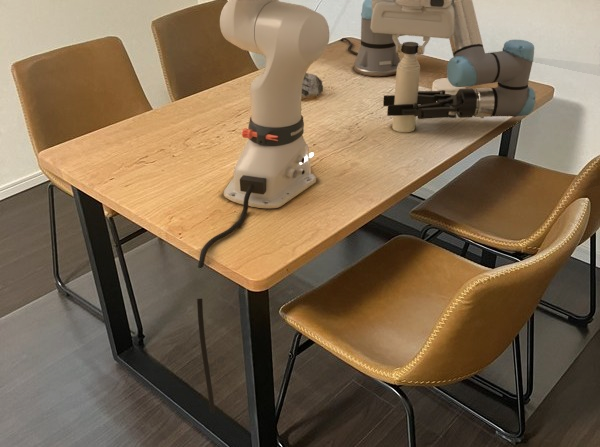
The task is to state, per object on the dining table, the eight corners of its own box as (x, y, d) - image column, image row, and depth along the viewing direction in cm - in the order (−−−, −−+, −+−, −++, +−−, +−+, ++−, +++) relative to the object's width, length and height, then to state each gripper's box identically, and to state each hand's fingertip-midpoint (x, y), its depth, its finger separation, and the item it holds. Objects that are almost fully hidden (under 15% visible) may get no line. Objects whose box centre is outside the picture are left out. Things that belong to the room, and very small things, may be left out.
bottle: (396, 122, 169) (402, 42, 157) (417, 125, 167) (425, 45, 155) (389, 130, 165) (395, 48, 153) (410, 133, 162) (418, 51, 151)
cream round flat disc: (427, 89, 189) (428, 78, 188) (459, 87, 190) (460, 76, 188) (437, 101, 181) (438, 89, 179) (470, 99, 182) (471, 88, 180)
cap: (402, 49, 157) (403, 41, 156) (418, 50, 156) (419, 42, 155) (401, 53, 153) (402, 45, 152) (417, 54, 153) (418, 46, 152)
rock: (327, 94, 187) (327, 70, 183) (303, 102, 181) (302, 79, 177) (294, 83, 196) (293, 61, 192) (270, 91, 190) (268, 68, 186)
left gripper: (368, -5, 148) (366, 52, 155) (455, 0, 142) (448, 60, 149) (374, -11, 153) (372, 45, 160) (459, -6, 147) (452, 52, 154)
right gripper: (481, 130, 157) (390, 133, 156) (462, 103, 173) (379, 105, 172) (486, 102, 153) (392, 105, 152) (465, 76, 169) (380, 79, 168)
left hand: (409, 52), depth 155 cm, fingers open, 4 cm apart
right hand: (385, 105), depth 162 cm, fingers closed on bottle, 6 cm apart
